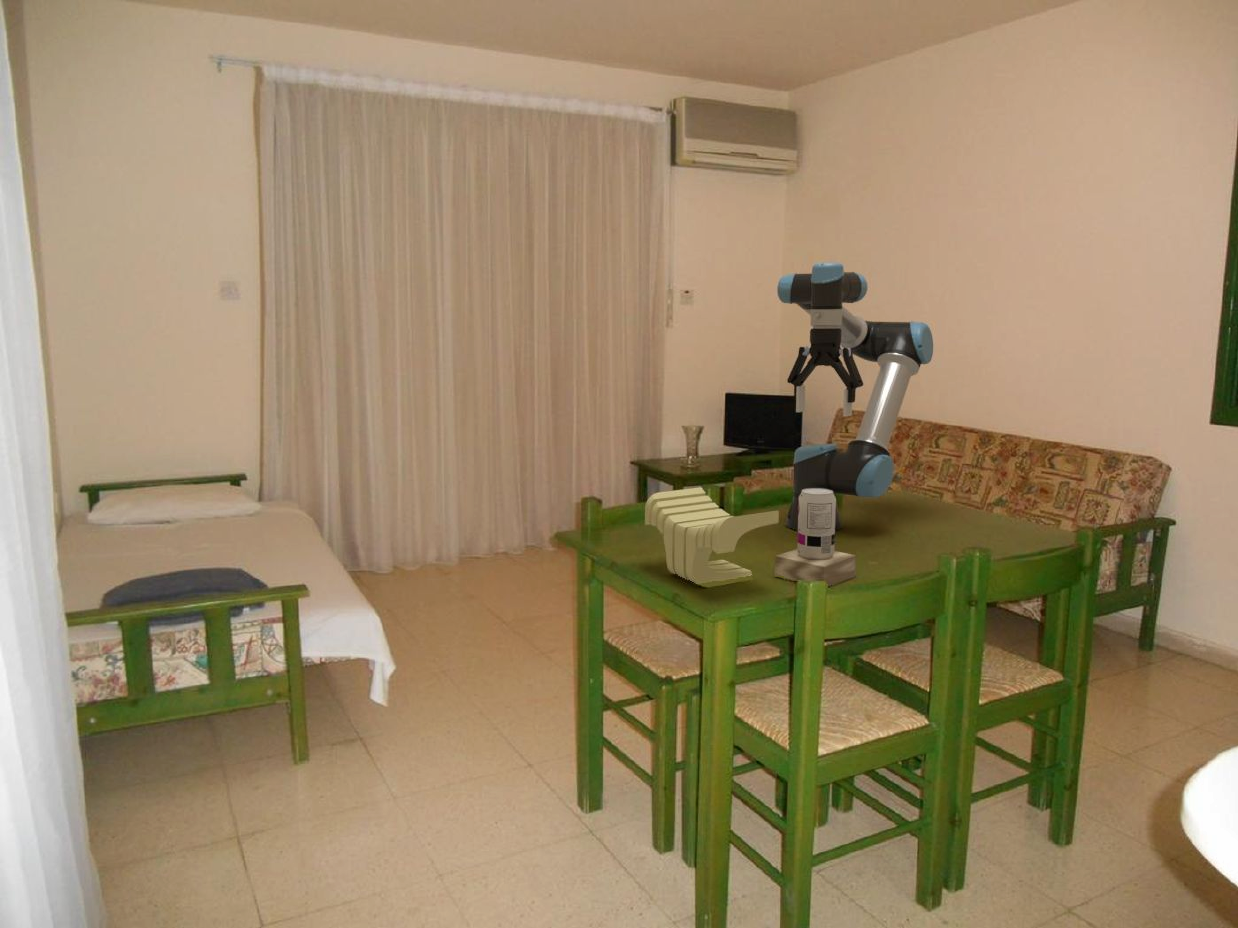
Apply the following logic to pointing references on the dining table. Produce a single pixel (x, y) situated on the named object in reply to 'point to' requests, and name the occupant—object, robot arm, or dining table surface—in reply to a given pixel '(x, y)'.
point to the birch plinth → (816, 567)
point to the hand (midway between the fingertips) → (823, 414)
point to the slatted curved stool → (700, 533)
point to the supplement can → (816, 523)
